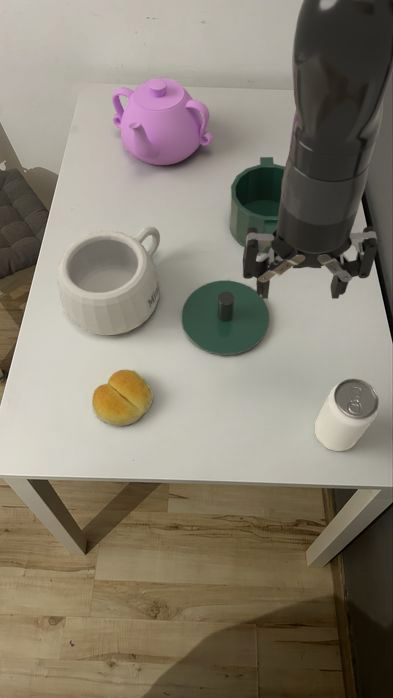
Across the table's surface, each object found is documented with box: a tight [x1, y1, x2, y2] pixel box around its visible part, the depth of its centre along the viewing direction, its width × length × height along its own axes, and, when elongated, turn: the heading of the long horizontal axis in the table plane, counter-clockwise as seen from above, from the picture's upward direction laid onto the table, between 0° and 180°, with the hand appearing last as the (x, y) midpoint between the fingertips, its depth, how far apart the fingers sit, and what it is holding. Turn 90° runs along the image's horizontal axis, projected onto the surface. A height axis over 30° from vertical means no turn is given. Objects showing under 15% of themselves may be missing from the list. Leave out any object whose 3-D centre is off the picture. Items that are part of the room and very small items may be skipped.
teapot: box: [111, 78, 214, 166], centre depth 99 cm, size 22×22×14 cm
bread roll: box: [91, 369, 154, 427], centre depth 76 cm, size 8×9×4 cm
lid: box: [181, 280, 270, 356], centre depth 82 cm, size 15×15×6 cm
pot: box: [229, 156, 285, 254], centre depth 91 cm, size 14×19×8 cm
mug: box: [56, 226, 161, 336], centre depth 83 cm, size 21×17×10 cm
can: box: [314, 378, 380, 452], centre depth 69 cm, size 6×6×12 cm
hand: (299, 292), depth 62 cm, fingers open, 8 cm apart
